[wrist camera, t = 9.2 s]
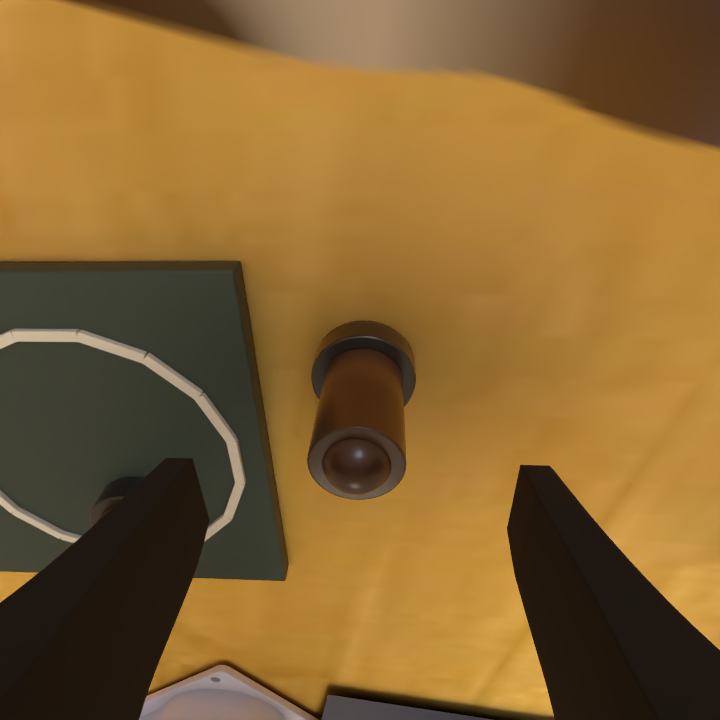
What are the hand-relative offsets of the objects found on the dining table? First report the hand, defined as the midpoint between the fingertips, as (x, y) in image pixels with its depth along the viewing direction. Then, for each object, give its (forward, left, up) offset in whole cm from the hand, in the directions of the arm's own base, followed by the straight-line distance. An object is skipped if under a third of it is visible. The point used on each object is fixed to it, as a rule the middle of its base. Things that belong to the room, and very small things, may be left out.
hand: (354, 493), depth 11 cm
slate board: (-13, +5, -6) cm, 15 cm away
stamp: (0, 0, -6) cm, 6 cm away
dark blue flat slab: (-18, -34, -6) cm, 39 cm away
